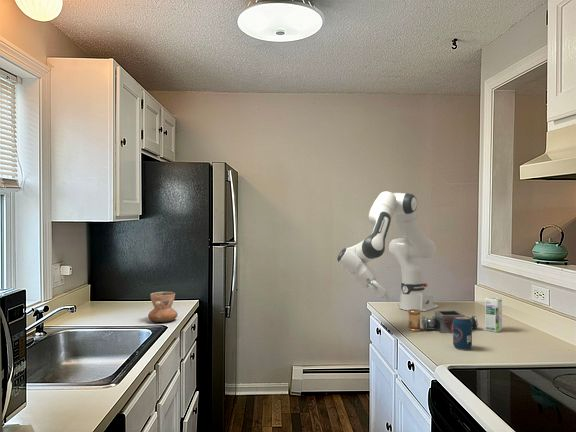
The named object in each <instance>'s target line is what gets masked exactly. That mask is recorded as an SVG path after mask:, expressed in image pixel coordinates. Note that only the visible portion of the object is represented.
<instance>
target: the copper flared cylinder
mask: <svg viewBox="0 0 576 432" xmlns="http://www.w3.org/2000/svg"><path fill="white" fill-rule="evenodd" d="M421 312H422V311H421V310H417V309H409V310H407V313H408V327H407V328H408V329H407V331H409V332H412V331H413V333H417V331H419V332H421V331H422V328H421V321H420V320H421V315H420V314H421Z"/></svg>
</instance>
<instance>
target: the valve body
mask: <svg viewBox="0 0 576 432" xmlns="http://www.w3.org/2000/svg"><path fill="white" fill-rule="evenodd" d="M455 316H466V315H464V314H463V313H461V312H460V311H458V310H435V311H434V315H433V316H432V317H431V318H429V317H426V316H423V317H422V320H421V325H422V329H423V331H427V330H428V329H435V330H436V331H437V332H439V333H440V334H449V333H450V334H451V333H452V334H453V320H454V317H455ZM469 318H470V320H471V322H472V330H477V329H478V327H479V325H478V324H479V323H478V317H477V316H476V315H472V316H471V317H469Z"/></svg>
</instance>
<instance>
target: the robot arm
mask: <svg viewBox="0 0 576 432" xmlns="http://www.w3.org/2000/svg"><path fill="white" fill-rule="evenodd" d="M417 208H418V200H417V197H416V196H415V195H414V194H412V193H410V192H409V193H408V192H407V193H404V192H391V191H387V190H386V191H381V192H380V193H379V194H378V195H377V196H376V197H375V199H374V201H373V203H372V206H371V207H370V209H369V212H368V220H369V222H370V223H371V224H372V225H373V226H374V227H373V229H372V231H371V234H370V235H369V236H368V237H366V238H365V239H362V241H360V242H358V243H357V244H355V245H353V246H350V247H344V248H343V249H342V250H340V252H339V253H338V255H337V263H338V265H340V267H341V268H342V270H344V271H345V273H346V274H348V275H350V276H351V277H352V279H353V280H354V282H356V283H357V284H358V285H359V286H360V287H361V288H364V287H365V288H366V289H368V288H369V289H370V290H372V291H373V292H374V293H375V294H376V295H377V296H378V297H380V298H381V299H382V298H383V299H384V300H385V301H387V302H388V303H390V302H391V301H392V300H393V299H392V298H391V297H390V296H389V295H388V291H387V290H386V289H385V288H384V287H383V286H382V285H381V284H380V283H378V281H377V277H376V273H375V271H374V270H372V268H370V267H369V265H367V264H368V263H369V262H371V261H372V260H375V259H377V258H380V257H382V256H383V254H384V253H385V250H386V238H387V234H388V231H389V230H390V225H391V221H392V218H393V215H394V217H395V222H396V223H395V224H396V228H397V231H398V233H399V235H401V236H403V237H398V238H394V239H393V238H392V239H391V240H390V242H389V244H388V251H389V254H390V255H391V256H392V257H393V258H395V259H396V261H397V263H398V264H399V267H400V270H401V284H400V289H401V291H400V296H399V304H398V308H399V309H401V310H404V311H408V310H409V309H417V310H421V312H428V311H431V310H433V309H436V308H438V307H439V305H438V304H436V303H434V298H433V295H432V294H430V293H429V292H428V291H427V290H426V288H428V283H427V282H423V269H422V268H421V267H420V266H419V265H418V264H416V263H414V261H413V259H429V258H432V257H433V256H434V255H435V253H436V250H437V248H436V244H435V242H434V241H433V240H432V239H430V238H429V237H427V236H426V235H425V234H424V233H423V232H422V231H421V228H420V227H419V223H418V218H417V212H416V211H417Z"/></svg>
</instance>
